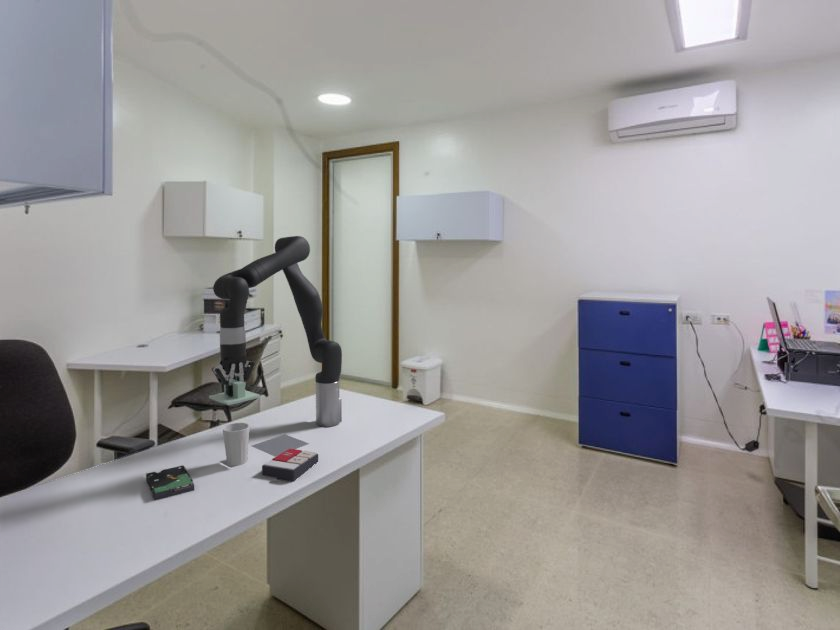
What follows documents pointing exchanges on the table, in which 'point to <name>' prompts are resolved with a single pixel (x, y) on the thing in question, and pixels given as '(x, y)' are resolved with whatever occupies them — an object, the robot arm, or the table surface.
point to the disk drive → (169, 482)
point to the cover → (235, 394)
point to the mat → (279, 444)
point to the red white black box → (290, 464)
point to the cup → (236, 443)
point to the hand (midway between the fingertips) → (234, 395)
